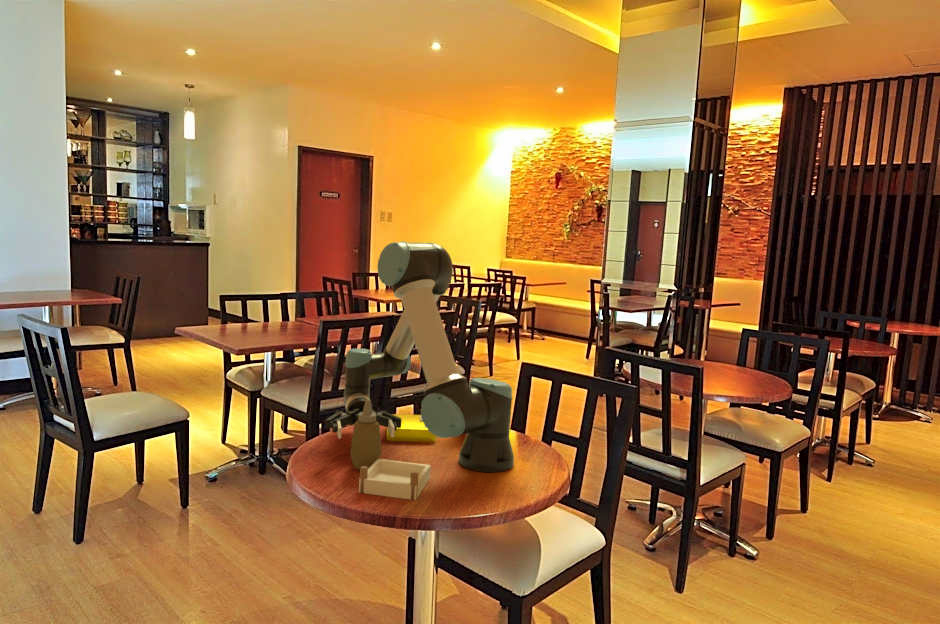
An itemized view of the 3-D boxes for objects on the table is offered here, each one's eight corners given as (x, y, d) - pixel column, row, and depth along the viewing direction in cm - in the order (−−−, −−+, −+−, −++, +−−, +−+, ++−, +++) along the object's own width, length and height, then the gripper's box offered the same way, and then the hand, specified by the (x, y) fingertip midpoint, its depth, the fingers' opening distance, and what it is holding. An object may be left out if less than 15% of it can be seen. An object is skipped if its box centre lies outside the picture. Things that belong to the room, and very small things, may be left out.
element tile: (387, 426, 206) (388, 412, 205) (434, 428, 207) (435, 413, 207) (386, 442, 191) (386, 426, 190) (436, 443, 193) (437, 428, 192)
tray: (430, 478, 164) (431, 455, 164) (416, 500, 151) (417, 475, 150) (377, 471, 167) (378, 449, 166) (358, 492, 153) (359, 468, 152)
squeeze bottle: (358, 475, 164) (360, 406, 162) (344, 464, 170) (346, 398, 168) (386, 469, 169) (389, 402, 166) (371, 459, 175) (374, 395, 173)
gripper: (401, 421, 190) (413, 445, 170) (314, 422, 184) (316, 448, 164) (403, 396, 189) (415, 417, 169) (315, 397, 183) (317, 419, 163)
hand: (366, 432), depth 166 cm, fingers open, 13 cm apart
